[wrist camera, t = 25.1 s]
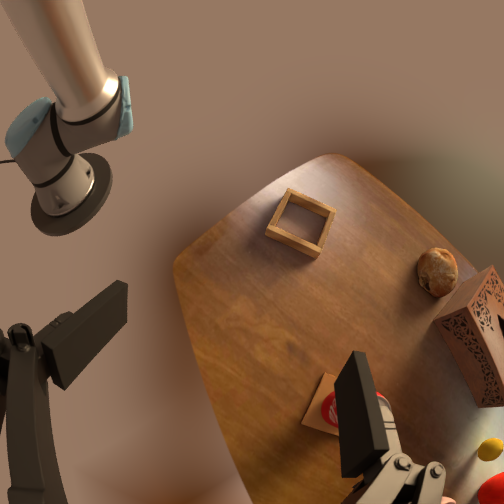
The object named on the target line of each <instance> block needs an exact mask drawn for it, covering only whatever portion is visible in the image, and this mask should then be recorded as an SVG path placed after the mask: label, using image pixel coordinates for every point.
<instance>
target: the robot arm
mask: <svg viewBox="0 0 504 504" xmlns="http://www.w3.org/2000/svg"><path fill="white" fill-rule="evenodd" d="M0 2H1V3H2V5H3V8H4V9H5V11H6V13H7V15H8V17H9V19H10V21H11V23H12V25H13V26H14V28H15V30H16V32H17V34H18V36H19V37H20V39H21V41H22V42H23V44H24V46H25V48H26V49H27V51H28V52H29V54H30V56H31V57H32V59H33V61H34V62H35V64H36V66H37V67H38V69H39V70H40V72H41V74H42V75H43V77H44V78H45V80H46V81H47V83H48V84H49V86H50V87H51V89H52V90H53V92H54V93H55V95H56V96H57V99H56V102H55V103H51V100H50V99H49V98H47V97H44V98H40V99H38V100H36V101H35V102H33V103H31V104H30V105H29V106H28V107H26V108H25V109H24V110H23V111H22V112H21V113H20V114H19V115H18V116H17V118H16V119H15V120H14V121H13V122H12V124H11V125H10V127H9V129H8V131H7V133H6V137H5V144H6V147H7V149H8V150H9V152H10V154H11V157H12V158H14V160H5V161H0V164H1V163H9V162H16V163H17V164H18V165H19V167H20V168H21V170H22V171H23V172H24V174H25V175H26V176H27V178H28V179H29V180H30V181H31V183H32V184H33V186H34V187H35V191H36V194H37V198H38V201H39V204H40V206H41V208H42V209H43V211H44V212H45V213H46V214H47V215H48V216H51V217H55V218H56V217H63V216H66V215H68V214H70V213H72V212H74V211H75V210H76V209H78V208H79V207H80V206H81V205H82V204H83V203H84V202H85V201H86V200H87V198H88V197H89V195H90V194H91V192H92V190H93V188H94V185H95V172H94V170H93V168H92V167H91V165H90V164H89V163H88V162H87V161H86V160H84V159H83V158H82V157H81V156H79V155H78V154H77V153H79V152H82V151H84V150H87V149H89V148H92V147H95V146H98V145H101V144H104V143H107V142H110V141H113V140H117V139H118V138H120V137H123V136H125V135H128V134H129V133H130V132H131V131H132V129H133V119H132V111H131V102H130V92H129V82H128V78H127V77H126V76H119V77H117V75H116V73H115V72H114V71H113V70H112V69H110V68H108V67H104V66H103V63H102V60H101V58H100V55H99V52H98V49H97V46H96V43H95V40H94V37H93V34H92V31H91V28H90V25H89V21H88V18H87V15H86V12H85V8H84V5H83V1H82V0H0ZM127 292H128V284H127V283H124V282H122V281H119V280H116V281H115V282H114V283H112V284H111V285H110V286H108V287H107V288H106V289H104V290H103V291H102V292H100V293H99V294H98V295H97V296H95V297H94V298H93V299H91V300H90V301H89V302H88V303H86V304H85V305H84V306H83V307H81V308H80V309H79V310H78V311H76V312H75V313H74V314H73V313H72V312H69V311H68V312H66V313H63V314H61V315H59V316H58V317H57V318H55V319H54V321H52V322H50V323H49V325H47V326H45V327H44V328H43V329H42V330H41V331H39V332H38V333H37V334H36V335H34V336H33V334H32V330H31V328H30V327H29V326H28V325H26V324H23V323H18V324H15V325H13V326H11V327H10V328H9V329H8V332H7V333H8V336H9V339H8V338H5V337H4V334H3V331H2V330H1V329H0V434H1V429H2V424H3V420H4V416H5V412H6V434H7V451H8V461H9V469H10V477H11V487H10V488H9V489H8V492H7V494H8V501H9V504H68V502H67V499H66V495H65V492H64V488H63V484H62V481H61V476H60V472H59V468H58V463H57V458H56V453H55V447H54V441H53V434H52V428H51V419H50V408H49V394H48V382H47V379H48V378H49V377H50V376H51V378H52V380H53V383H54V384H55V385H57V386H58V387H60V388H61V389H63V390H64V391H65V390H66V389H67V388H68V386H69V385H70V384H71V383H72V382H73V381H74V379H75V378H76V377H77V376H78V375H79V374H80V373H81V372H82V371H83V369H84V368H85V367H86V366H87V365H88V364H89V363H90V362H91V360H92V359H93V358H94V357H95V356H96V355H97V353H99V352H100V351H101V349H102V348H103V347H104V346H105V345H106V344H107V343H108V342H109V341H110V340H111V339H112V338H113V336H114V335H115V334H116V333H117V332H118V331H119V330H120V329H121V328H122V327H123V326H124V325H125V324H126V323H127ZM334 391H335V400H336V410H337V420H338V431H339V443H340V456H341V473H342V478H357V477H358V476H359V475H360V474H362V473H363V476H364V479H363V480H361V481H360V482H358V483H357V484H356V485H354V486H353V487H352V488H354V489H353V490H352V492H351V493H350V494H349V495H348V496H347V497H346V498H345V499H344V501H343V502H342V503H341V504H441V500H442V495H443V489H444V484H445V477H446V471H445V468H444V466H443V465H442V464H441V463H439V462H435V461H433V462H430V463H429V464H428V465H426V466H421V465H417V464H413V462H412V460H411V458H410V457H409V456H408V455H406V454H404V453H402V450H401V446H400V442H399V438H398V434H397V430H396V426H395V423H394V419H393V415H392V413H391V411H390V410H389V409H388V407H387V406H380V404H379V400H378V397H377V393H376V389H375V385H374V382H373V378H372V375H371V371H370V368H369V364H368V361H367V358H366V354H365V353H364V352H359V351H354V350H353V352H352V354H351V355H350V357H349V359H348V361H347V362H346V364H345V366H344V367H343V369H342V371H341V372H340V374H339V376H338V377H337V379H336V381H335V382H334Z"/></svg>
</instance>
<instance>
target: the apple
mask: <svg viewBox="0 0 504 504" xmlns="http://www.w3.org/2000/svg"><path fill="white" fill-rule="evenodd" d="M478 500H479V504H504V472H502V473H500V474H497V475H495V476H493V477H492V478H490V479H489V480H487V481H486V482H485V483H484V484H483V485H482V486H481V488H480V489H479V492H478Z"/></svg>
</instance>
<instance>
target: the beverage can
mask: <svg viewBox="0 0 504 504" xmlns="http://www.w3.org/2000/svg"><path fill="white" fill-rule="evenodd" d="M376 393H377V397H378V400H379V404H380V406H387V407H388V409H389V410H390V411H391V406H390V404H389V402H388V401H387V399H385V397H384V396H383V395H381V394H380V393H378V392H376ZM321 414H322V417H323V419H324V420H325V422H327V423H328V424H329V425H332V426H334V427H336V428H338V420H337V410H336V400H335V391H333V392H331V393H330V394H329V395H328V396H327V397H326V398H325V399H324V401H323V403H322V407H321Z"/></svg>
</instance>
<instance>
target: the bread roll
mask: <svg viewBox="0 0 504 504" xmlns="http://www.w3.org/2000/svg"><path fill="white" fill-rule="evenodd" d="M417 272H418V277H419V283H420V285H421V286H422V287H424V288H425V289H426V291H428V292H429V293H430V294H431V295H432V296H434V297H443V296H445V295H447V294H449V293H450V292H451V291H452V290H453V288H454V287H455V285H456V282H457V279H458V269H457V264H456V261H455V259H454V257H453V256H452V254H451V253H450V252H448V251H447V250H446V249H440V248H430V249H429V250H428V251H426V252H424V253H423V254H422V255H421V256H420V258H419V262H418V268H417Z"/></svg>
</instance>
